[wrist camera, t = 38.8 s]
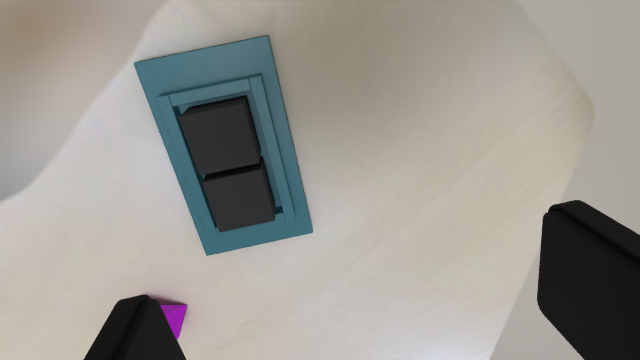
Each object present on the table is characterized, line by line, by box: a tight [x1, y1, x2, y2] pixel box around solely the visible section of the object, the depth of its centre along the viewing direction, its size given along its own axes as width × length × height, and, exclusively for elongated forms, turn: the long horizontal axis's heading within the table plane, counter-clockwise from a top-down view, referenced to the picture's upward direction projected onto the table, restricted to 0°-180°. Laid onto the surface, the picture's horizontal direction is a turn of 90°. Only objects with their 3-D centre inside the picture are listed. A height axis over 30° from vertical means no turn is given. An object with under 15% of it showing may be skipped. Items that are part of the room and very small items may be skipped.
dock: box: [134, 35, 313, 256], centre depth 33 cm, size 11×19×2 cm, turn 11°
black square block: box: [202, 156, 275, 233], centre depth 33 cm, size 5×5×4 cm
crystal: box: [160, 305, 187, 339], centre depth 38 cm, size 5×5×5 cm
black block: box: [179, 95, 261, 176], centre depth 31 cm, size 5×5×4 cm
